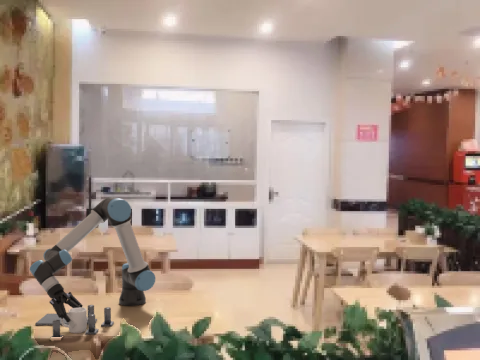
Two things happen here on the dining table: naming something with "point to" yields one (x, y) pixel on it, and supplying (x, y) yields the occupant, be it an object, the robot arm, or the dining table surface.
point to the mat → (50, 320)
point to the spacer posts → (88, 322)
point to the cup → (77, 320)
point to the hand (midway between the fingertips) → (80, 323)
